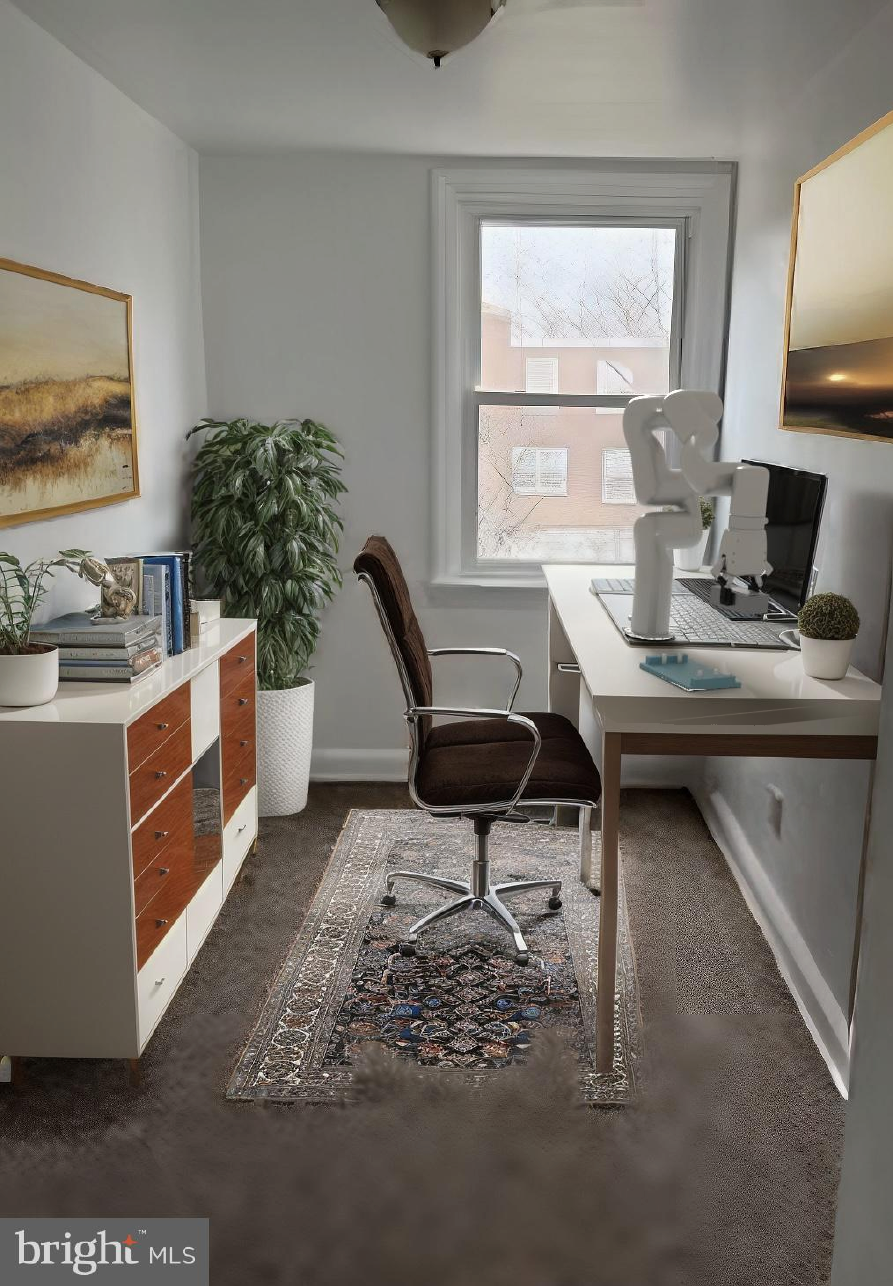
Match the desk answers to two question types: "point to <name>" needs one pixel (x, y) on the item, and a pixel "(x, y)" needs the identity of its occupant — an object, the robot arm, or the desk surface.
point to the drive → (742, 600)
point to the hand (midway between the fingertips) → (738, 603)
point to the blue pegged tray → (687, 672)
